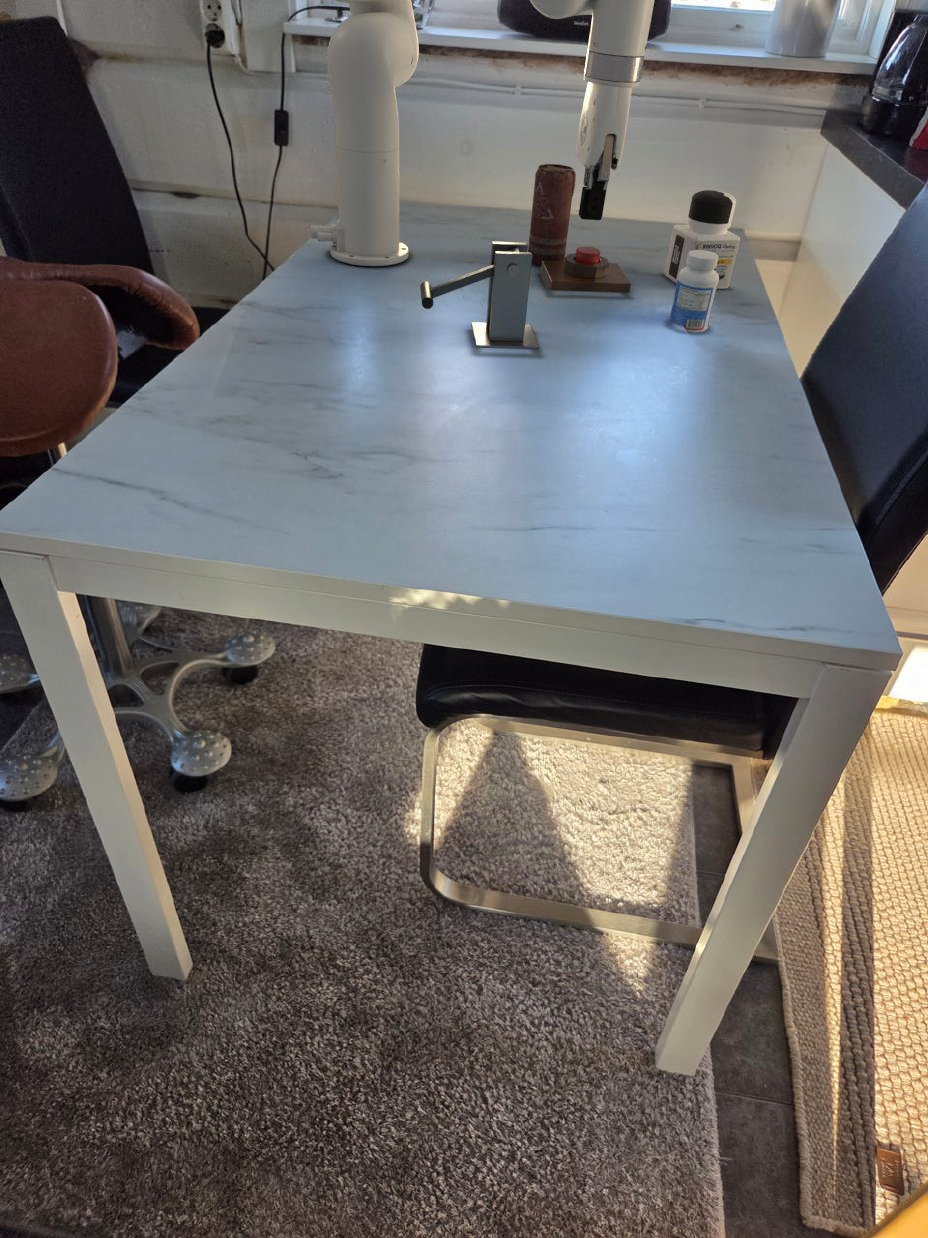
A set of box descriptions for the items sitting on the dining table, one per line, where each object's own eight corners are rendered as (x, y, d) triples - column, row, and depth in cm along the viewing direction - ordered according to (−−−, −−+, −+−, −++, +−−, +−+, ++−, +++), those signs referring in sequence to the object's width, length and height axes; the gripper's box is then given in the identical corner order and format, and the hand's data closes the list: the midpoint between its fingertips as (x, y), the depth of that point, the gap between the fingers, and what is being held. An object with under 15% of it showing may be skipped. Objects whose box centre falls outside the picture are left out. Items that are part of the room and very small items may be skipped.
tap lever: (425, 314, 102) (418, 295, 100) (423, 297, 106) (417, 279, 105) (527, 276, 100) (521, 256, 98) (521, 261, 104) (515, 242, 103)
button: (577, 265, 124) (578, 252, 123) (573, 257, 127) (574, 245, 125) (600, 266, 124) (602, 253, 123) (596, 258, 127) (597, 246, 126)
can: (563, 269, 134) (575, 172, 125) (524, 264, 135) (534, 168, 126) (567, 258, 138) (579, 165, 130) (529, 254, 139) (539, 160, 130)
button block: (549, 296, 123) (553, 268, 121) (540, 274, 131) (543, 248, 128) (628, 298, 124) (633, 271, 122) (614, 277, 132) (618, 250, 129)
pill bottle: (679, 316, 119) (695, 245, 113) (713, 326, 117) (731, 254, 111) (661, 326, 116) (676, 253, 110) (695, 336, 114) (713, 262, 107)
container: (684, 290, 129) (704, 199, 120) (662, 274, 134) (680, 186, 126) (728, 289, 130) (751, 199, 122) (705, 273, 136) (725, 186, 128)
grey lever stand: (475, 354, 105) (482, 256, 97) (470, 330, 111) (476, 237, 103) (538, 356, 105) (549, 258, 98) (529, 332, 111) (539, 239, 104)
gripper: (575, 60, 115) (556, 203, 127) (596, 75, 104) (573, 231, 116) (628, 64, 116) (604, 206, 128) (654, 79, 105) (625, 234, 116)
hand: (589, 217), depth 122 cm, fingers closed
